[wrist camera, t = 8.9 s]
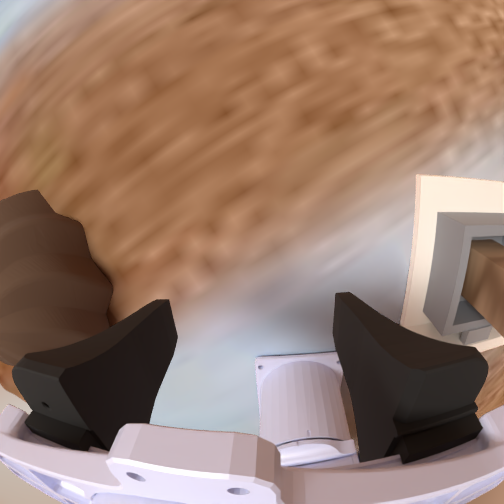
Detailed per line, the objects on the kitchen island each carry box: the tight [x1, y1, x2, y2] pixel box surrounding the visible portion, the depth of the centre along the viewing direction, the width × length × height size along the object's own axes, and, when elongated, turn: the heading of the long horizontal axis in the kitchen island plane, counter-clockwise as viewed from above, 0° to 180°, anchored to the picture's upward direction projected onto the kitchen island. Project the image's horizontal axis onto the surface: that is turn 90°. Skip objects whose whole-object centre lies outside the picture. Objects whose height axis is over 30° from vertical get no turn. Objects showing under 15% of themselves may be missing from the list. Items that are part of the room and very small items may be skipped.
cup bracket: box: [399, 174, 504, 352], centre depth 18 cm, size 14×12×5 cm
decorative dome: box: [0, 190, 113, 366], centre depth 19 cm, size 19×20×10 cm
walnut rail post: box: [461, 239, 504, 338], centre depth 15 cm, size 4×4×8 cm
